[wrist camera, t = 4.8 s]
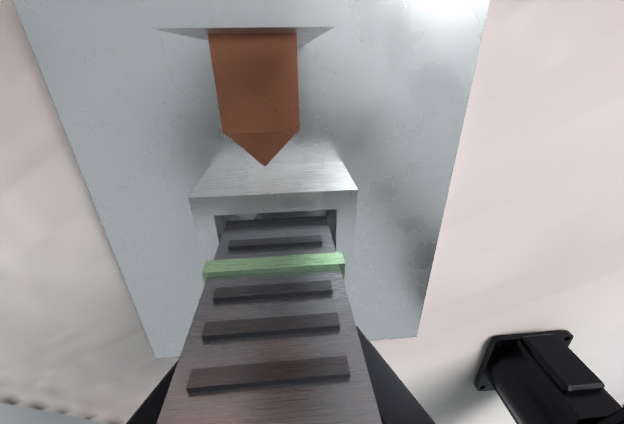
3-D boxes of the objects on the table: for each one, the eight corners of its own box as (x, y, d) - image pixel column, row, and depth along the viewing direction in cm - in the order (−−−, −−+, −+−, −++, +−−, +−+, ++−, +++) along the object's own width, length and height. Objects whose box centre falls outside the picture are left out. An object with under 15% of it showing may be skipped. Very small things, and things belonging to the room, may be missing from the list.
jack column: (328, 292, 14) (376, 542, 7) (237, 298, 14) (185, 567, 6) (329, 212, 12) (399, 446, 5) (222, 217, 12) (123, 476, 4)
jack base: (411, 325, 22) (483, 477, 14) (161, 345, 21) (85, 525, 13) (477, -5, 13) (810, -113, 5) (29, -4, 11) (-565, -150, 3)
